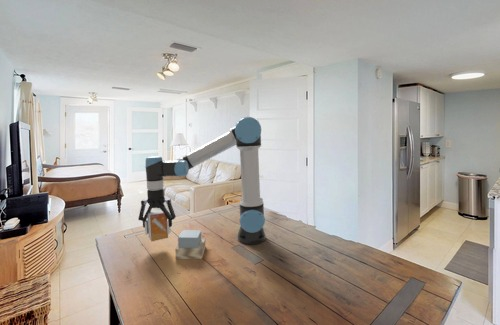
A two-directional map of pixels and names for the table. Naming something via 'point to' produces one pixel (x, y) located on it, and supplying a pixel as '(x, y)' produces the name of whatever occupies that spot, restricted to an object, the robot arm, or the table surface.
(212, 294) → the table surface
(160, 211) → the small box
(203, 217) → the table surface
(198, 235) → the tower top
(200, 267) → the table surface
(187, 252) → the tower base
